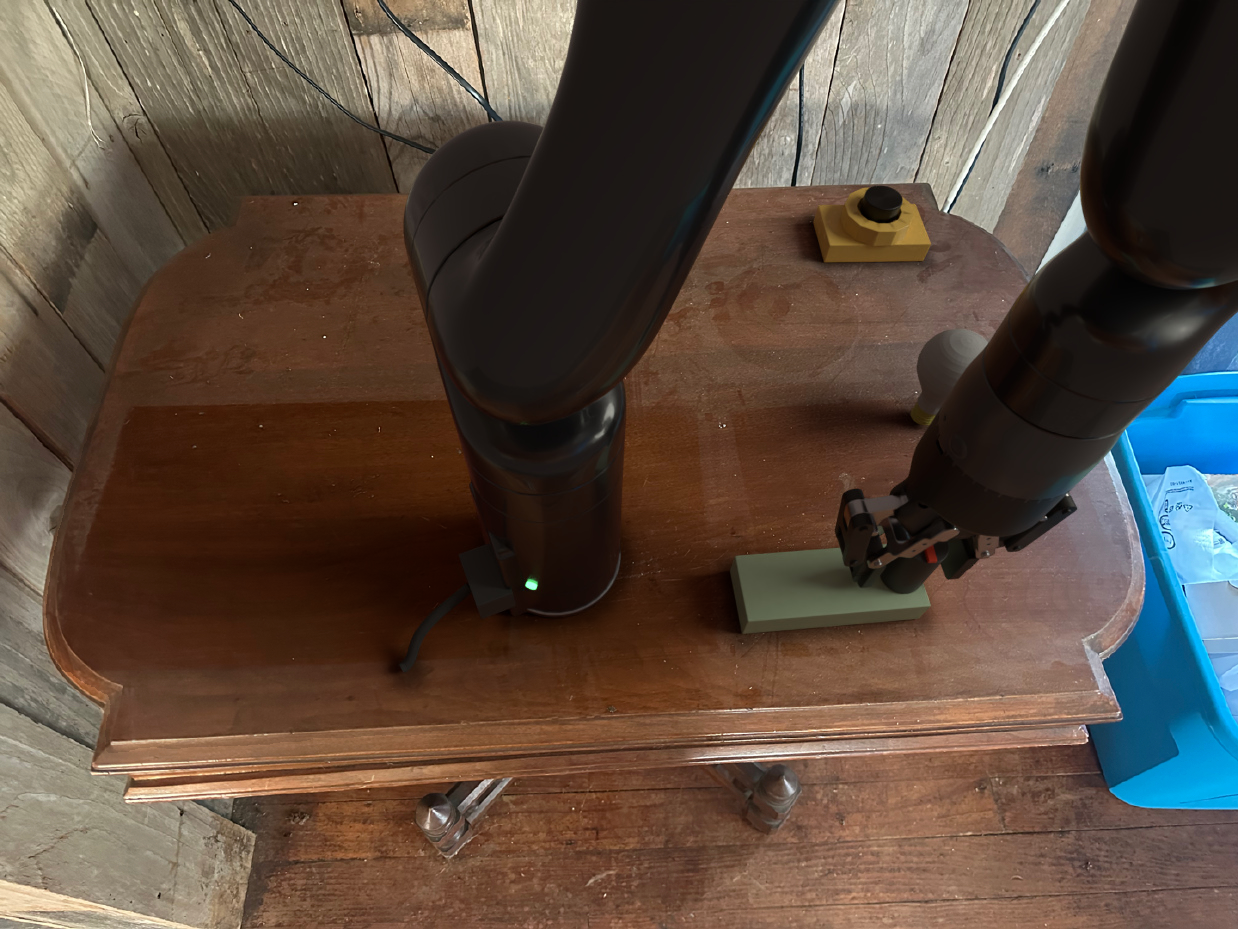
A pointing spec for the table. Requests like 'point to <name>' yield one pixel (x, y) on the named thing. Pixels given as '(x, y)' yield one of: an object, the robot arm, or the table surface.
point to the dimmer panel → (813, 593)
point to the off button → (881, 204)
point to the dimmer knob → (914, 568)
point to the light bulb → (943, 369)
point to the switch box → (869, 233)
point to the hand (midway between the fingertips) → (903, 570)
